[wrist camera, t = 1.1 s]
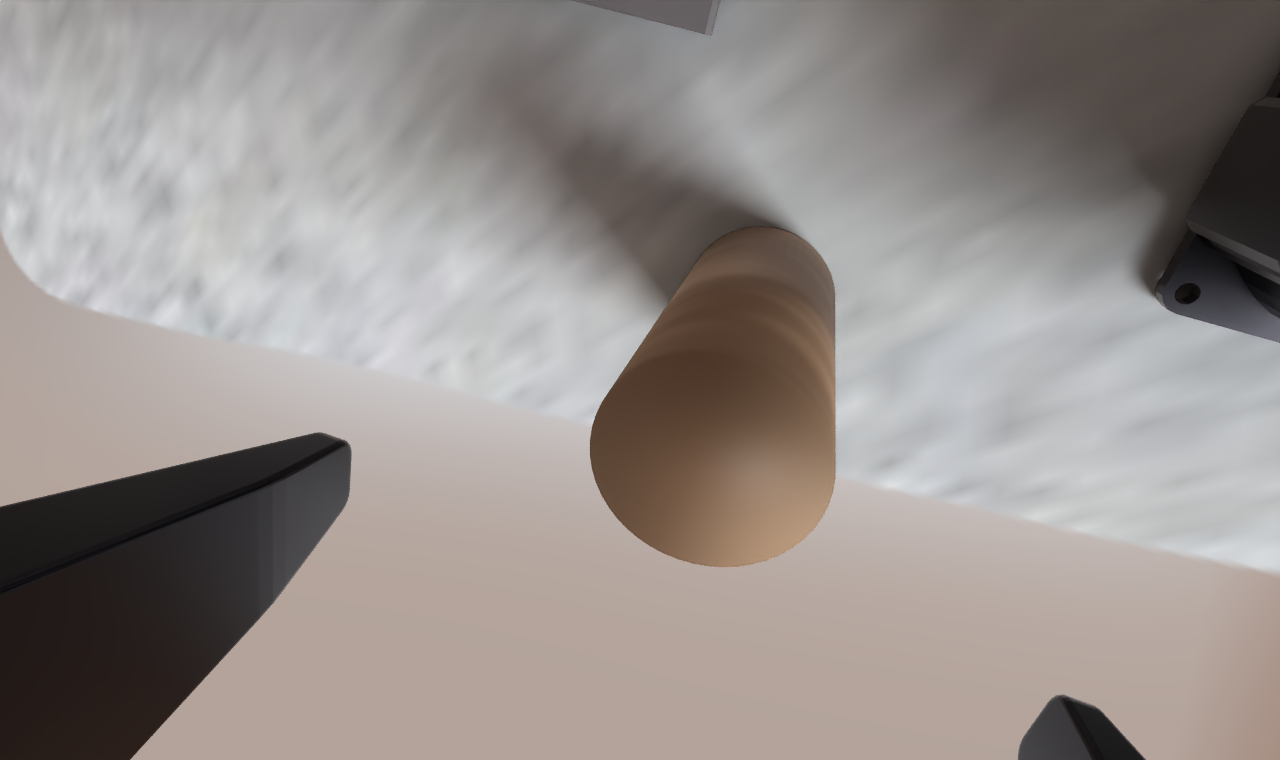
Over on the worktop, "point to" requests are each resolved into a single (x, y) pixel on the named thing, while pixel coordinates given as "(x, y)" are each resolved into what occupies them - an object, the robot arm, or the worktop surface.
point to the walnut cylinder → (728, 407)
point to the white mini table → (667, 11)
